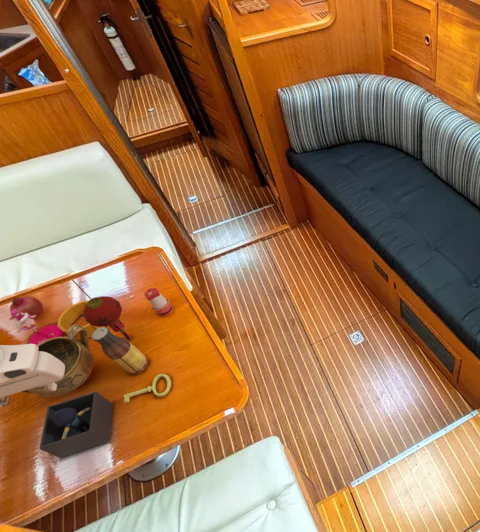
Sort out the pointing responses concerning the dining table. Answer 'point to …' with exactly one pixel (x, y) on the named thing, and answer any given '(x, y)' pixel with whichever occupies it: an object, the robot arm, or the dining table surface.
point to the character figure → (71, 420)
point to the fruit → (27, 306)
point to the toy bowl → (72, 315)
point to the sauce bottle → (120, 351)
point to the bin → (74, 440)
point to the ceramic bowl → (68, 361)
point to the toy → (158, 302)
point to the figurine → (28, 324)
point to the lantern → (104, 313)
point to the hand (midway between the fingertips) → (30, 396)
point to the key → (151, 388)
